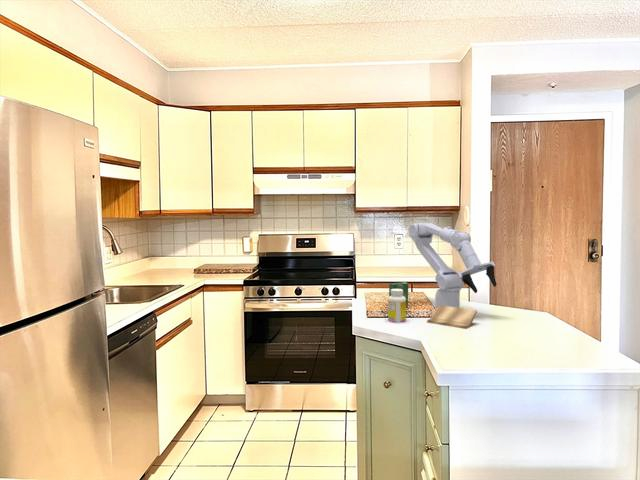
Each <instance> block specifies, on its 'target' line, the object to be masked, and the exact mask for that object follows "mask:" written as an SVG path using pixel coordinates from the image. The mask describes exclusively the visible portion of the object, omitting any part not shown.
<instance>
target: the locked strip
mask: <svg viewBox="0 0 640 480" xmlns="http://www.w3.org/2000/svg"><path fill="white" fill-rule="evenodd" d="M426 323H427V324H428V323H429V324H434V325H439V326H440V325H441V326H447V327H451V328H452V327H453V328H458V329H464V330H467V329H469V328H470V327H469V325H465V324H459V323H453V322H447V321H441V320H434V319H430V318H428V319H427V320H426Z"/></svg>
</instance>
